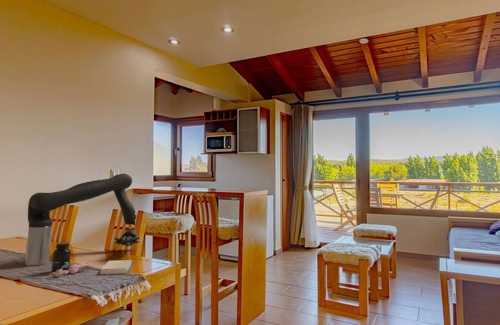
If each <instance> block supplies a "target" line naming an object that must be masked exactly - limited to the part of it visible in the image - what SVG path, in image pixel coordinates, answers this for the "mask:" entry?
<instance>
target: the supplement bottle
mask: <svg viewBox="0 0 500 325" xmlns="http://www.w3.org/2000/svg"><path fill="white" fill-rule="evenodd" d="M71 256H72V250H71V249H70V242H64V241H63V242H57V243H56V244H55V250H53V252H52V258H51V267H50V268H51V269H50V271H51V272H50V273H52V272H56V271H57V270H59V269H61V268H62V266H64V265H65V262H68V263H69V265H68V267H66V268H63V269H62V270H69V267H70V266H71V260H72V259H71Z"/></svg>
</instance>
